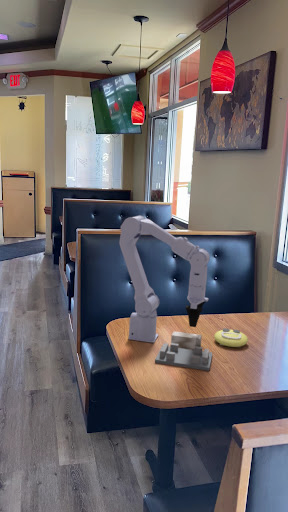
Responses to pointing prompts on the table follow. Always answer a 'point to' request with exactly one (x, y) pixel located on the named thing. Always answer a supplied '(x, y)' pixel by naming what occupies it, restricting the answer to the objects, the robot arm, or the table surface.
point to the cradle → (184, 357)
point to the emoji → (230, 338)
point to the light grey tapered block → (186, 340)
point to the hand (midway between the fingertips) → (194, 322)
